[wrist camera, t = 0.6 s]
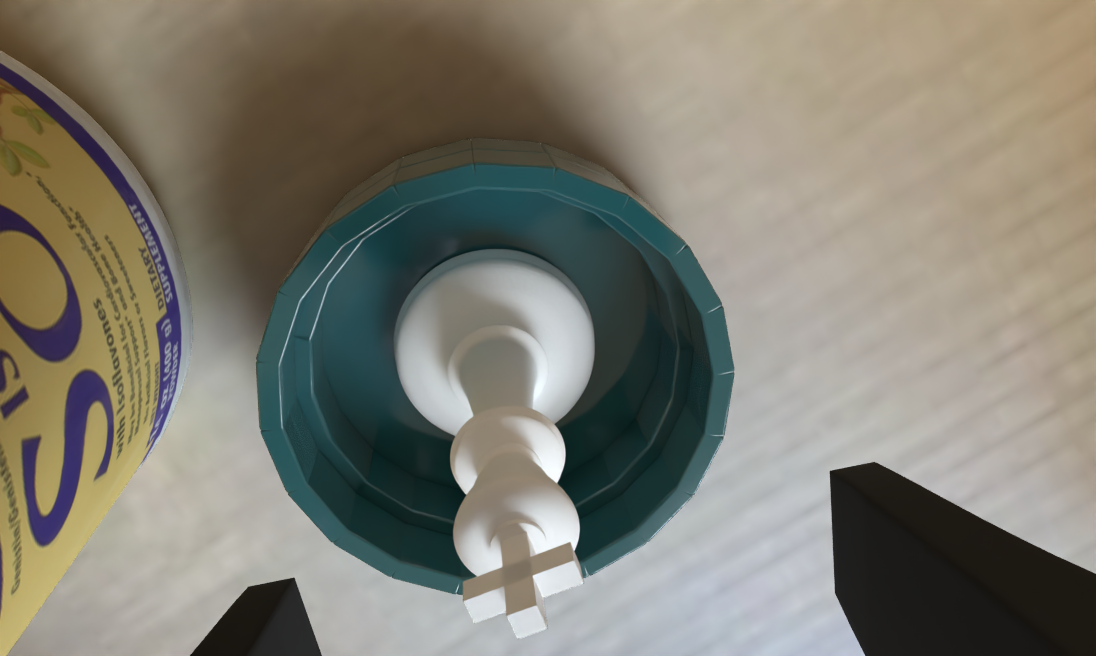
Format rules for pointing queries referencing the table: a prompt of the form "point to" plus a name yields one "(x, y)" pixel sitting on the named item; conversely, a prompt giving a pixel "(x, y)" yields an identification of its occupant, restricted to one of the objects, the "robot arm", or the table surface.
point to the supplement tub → (75, 334)
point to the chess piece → (502, 418)
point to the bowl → (424, 449)
